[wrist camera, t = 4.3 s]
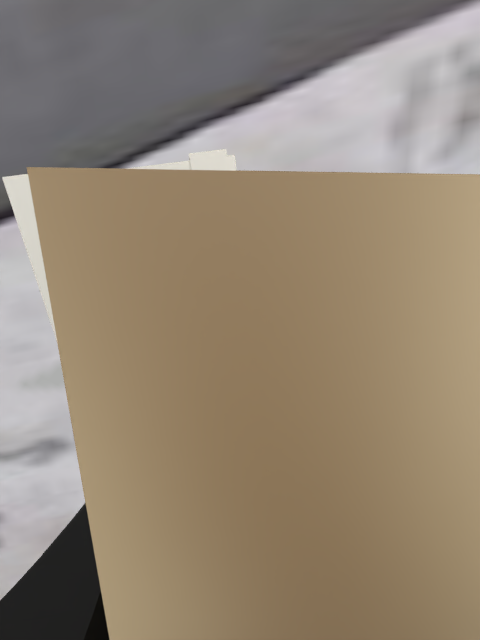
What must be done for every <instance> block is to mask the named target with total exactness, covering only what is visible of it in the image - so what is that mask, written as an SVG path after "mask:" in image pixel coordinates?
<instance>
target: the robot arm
mask: <svg viewBox="0 0 480 640" xmlns="http://www.w3.org/2000/svg"><path fill="white" fill-rule="evenodd" d="M0 640H110V639H109V634H108V628H107V622H106V617H105V611H104V605H103V599H102V594H101V588H100V582H99V577H98V571H97V565H96V560H95V554H94V548H93V542H92V537H91V531H90V525H89V520H88V514H87V508H86V503H85V504H84V505H83V506H82V508H81V509H80V510H79V512H78V513H77V514H76V515H75V517H74V518H73V519H72V520H71V521H70V523H69V524H68V525H67V526H66V527H65V529H64V530H63V531H62V532H61V533H60V535H59V536H58V537H57V538H56V539H55V540H54V542H53V543H52V544H51V545H50V546H49V548H48V549H47V550H46V551H45V552H44V553H43V555H42V556H41V557H40V558H39V559H38V560H37V561H36V563H35V564H34V565H33V566H32V567H31V568H30V569H29V570H28V571H27V573H26V574H25V575H24V576H23V577H22V578H21V579H20V580H19V581H18V582H17V583H16V585H15V586H14V587H13V588H12V589H11V590H10V591H9V592H8V593H7V594H6V595H5V596H4V597H3V598H2V599H1V600H0Z"/></svg>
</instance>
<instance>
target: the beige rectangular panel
mask: <svg viewBox="0 0 480 640" xmlns="http://www.w3.org/2000/svg"><path fill="white" fill-rule="evenodd" d="M27 172H28V177H29V183H30V189H31V194H32V200H33V206H34V212H35V217H36V223H37V229H38V234H39V240H40V246H41V251H42V257H43V263H44V269H45V274H46V280H47V286H48V291H49V297H50V303H51V309H52V314H53V320H54V326H55V331H56V337H57V343H58V348H59V354H60V360H61V366H62V371H63V377H64V383H65V388H66V394H67V400H68V406H69V411H70V417H71V423H72V428H73V434H74V440H75V445H76V451H77V457H78V463H79V468H80V474H81V480H82V485H83V491H84V497H85V502H86V508H87V514H88V520H89V525H90V531H91V537H92V542H93V548H94V554H95V560H96V565H97V571H98V577H99V582H100V588H101V594H102V599H103V605H104V611H105V617H106V622H107V628H108V634H109V639H110V640H480V175H477V174H415V173H353V172H291V171H229V170H167V169H105V168H43V167H27Z"/></svg>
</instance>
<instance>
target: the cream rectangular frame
mask: <svg viewBox="0 0 480 640" xmlns="http://www.w3.org/2000/svg"><path fill="white" fill-rule="evenodd" d="M127 169H167V170H229V171H237V168H236V161H235V155H229V156H227V151H226V149H222V150H214V151H206V152H198V153H190V154H189V161H182V162H174V163H166V164H159V165H151V166H143V167H135V168H127ZM2 178H3V181H4V184H5V187H6V190H7V193H8V196H9V199H10V202H11V205H12V208H13V211H14V214H15V217H16V220H17V223H18V226H19V229H20V232H21V235H22V238H23V241H24V244H25V247H26V250H27V253H28V256H29V259H30V262H31V265H32V268H33V271H34V274H35V277H36V280H37V283H38V286H39V289H40V292H41V295H42V298H43V301H44V304H45V307H46V310H47V313H48V316H49V319H50V322H51V325H52V328H53V331H54V334H55V337H56V331H55V326H54V320H53V314H52V309H51V303H50V297H49V291H48V286H47V280H46V274H45V269H44V263H43V257H42V251H41V246H40V240H39V234H38V229H37V223H36V217H35V212H34V206H33V200H32V194H31V189H30V183H29V177H28V174H24V175H16V176H8V177H2ZM56 340H57V337H56Z"/></svg>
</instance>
